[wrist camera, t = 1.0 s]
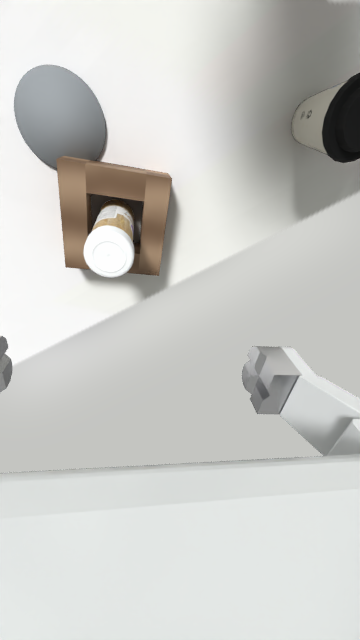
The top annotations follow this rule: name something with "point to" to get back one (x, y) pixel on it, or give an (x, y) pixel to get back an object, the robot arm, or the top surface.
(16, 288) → the top surface
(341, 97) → the coffee cup
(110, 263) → the sprinkles bottle
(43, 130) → the coaster
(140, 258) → the holder block
